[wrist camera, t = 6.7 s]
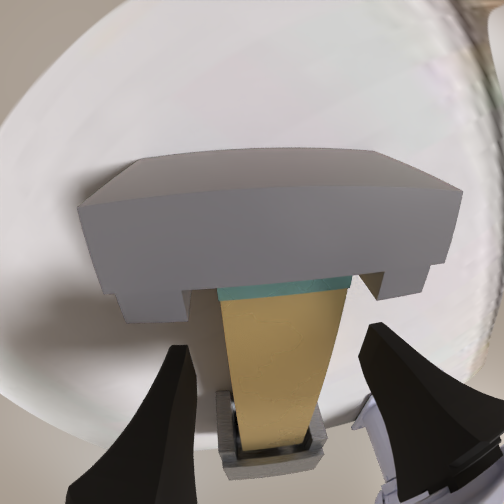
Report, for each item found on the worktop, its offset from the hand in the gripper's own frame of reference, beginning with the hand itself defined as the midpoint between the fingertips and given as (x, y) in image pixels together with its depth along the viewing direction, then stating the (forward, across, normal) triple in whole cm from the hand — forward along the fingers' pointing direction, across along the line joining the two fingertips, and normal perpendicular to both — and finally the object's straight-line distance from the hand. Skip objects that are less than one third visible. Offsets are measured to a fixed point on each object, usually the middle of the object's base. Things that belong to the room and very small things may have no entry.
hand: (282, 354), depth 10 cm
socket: (+4, 0, -5) cm, 7 cm away
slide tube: (+4, 0, +3) cm, 5 cm away
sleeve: (+4, 0, +12) cm, 13 cm away
